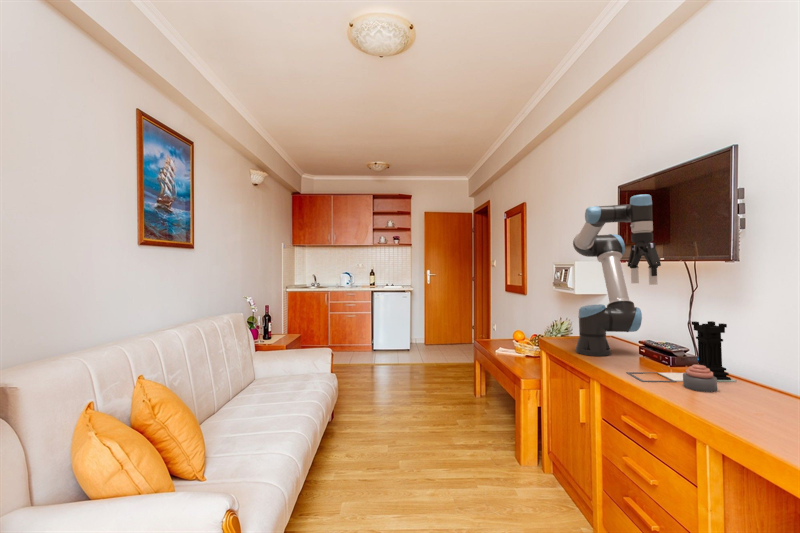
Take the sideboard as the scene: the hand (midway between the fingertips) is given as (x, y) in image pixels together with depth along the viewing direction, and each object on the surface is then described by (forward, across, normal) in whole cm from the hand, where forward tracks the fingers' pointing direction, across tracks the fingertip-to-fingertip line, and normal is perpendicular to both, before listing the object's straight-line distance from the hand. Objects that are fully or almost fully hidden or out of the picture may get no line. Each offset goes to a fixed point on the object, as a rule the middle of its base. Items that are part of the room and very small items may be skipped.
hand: (643, 283), depth 150 cm
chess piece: (+34, +13, +16) cm, 40 cm away
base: (+35, +25, +4) cm, 43 cm away
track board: (+35, +13, +5) cm, 37 cm away
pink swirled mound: (+30, +25, +4) cm, 40 cm away
